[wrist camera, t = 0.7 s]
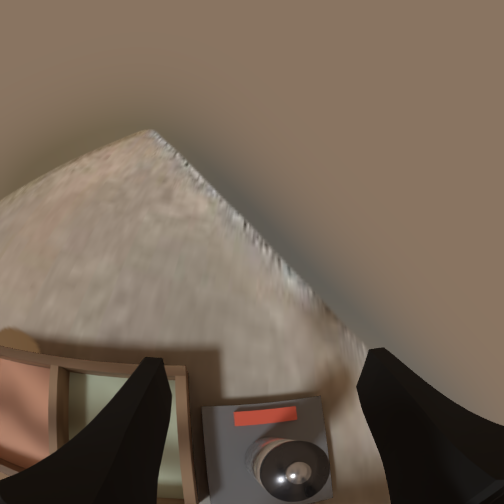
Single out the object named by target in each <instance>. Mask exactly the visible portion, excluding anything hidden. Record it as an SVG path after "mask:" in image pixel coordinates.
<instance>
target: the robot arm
mask: <svg viewBox="0 0 504 504" xmlns="http://www.w3.org/2000/svg"><path fill="white" fill-rule="evenodd" d="M356 388H357V392H358V396H359V400H360V404H361V407H362V411H363V413H364V416H365V418H366V421H367V423H368V426H369V428H370V431H371V433H372V436H373V438H374V441H375V443H376V446H377V448H378V451H379V453H380V456H381V459H382V462H383V466H384V470H385V474H386V479H387V483H388V488H389V494H390V500H391V504H504V426H502V425H499V424H496V423H493V422H491V421H489V420H487V419H484V418H482V417H480V416H478V415H476V414H474V413H472V412H470V411H468V410H466V409H465V408H463V407H461V406H460V405H458V404H456V403H454V402H453V401H452V400H450V399H449V398H447V397H446V396H444V395H443V394H441V393H440V392H439V391H437V390H436V389H434V388H433V387H432V386H431V385H429V384H428V383H427V382H425V381H424V380H423V379H422V378H420V377H419V376H418V375H417V374H415V373H414V372H413V371H412V370H411V369H409V368H408V367H407V366H406V365H405V364H403V363H402V362H401V361H400V360H399V359H397V358H396V357H395V356H394V355H393V354H391V353H390V352H389V351H388V350H386V349H385V348H376V349H369V351H368V355H367V358H366V361H365V364H364V367H363V369H362V372H361V375H360V378H359V381H358V383H357V386H356ZM171 406H172V392H171V389H170V385H169V382H168V378H167V374H166V371H165V367H164V363H163V359H162V358H152V357H145V358H144V359H143V360H142V362H141V363H140V364H139V365H138V367H137V368H136V369H135V371H134V372H133V373H132V375H131V376H130V377H129V378H128V380H127V381H126V382H125V383H124V385H123V386H122V387H121V388H120V389H119V391H118V392H117V393H116V394H115V395H114V397H113V398H112V399H111V400H110V401H109V403H108V404H107V405H106V406H105V407H104V408H103V409H102V410H101V411H100V412H99V413H98V414H97V415H96V417H95V418H94V419H93V420H92V421H91V422H90V423H89V424H88V425H87V426H86V427H84V428H83V429H82V430H81V431H80V432H79V433H78V434H77V435H76V436H74V437H73V438H72V439H71V440H69V441H68V442H67V443H66V444H64V445H63V446H62V447H61V448H59V449H58V450H56V451H55V452H54V453H52V454H51V455H49V456H48V457H46V458H44V459H43V460H41V461H39V462H38V463H36V464H34V465H33V466H31V467H29V468H27V469H25V470H23V471H21V472H19V473H16V474H14V475H12V476H10V477H7V478H5V479H2V480H0V504H157V488H158V477H159V470H160V465H161V461H162V456H163V451H164V446H165V442H166V437H167V432H168V428H169V423H170V416H171Z"/></svg>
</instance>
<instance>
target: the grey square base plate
mask: <svg viewBox="0 0 504 504" xmlns="http://www.w3.org/2000/svg"><path fill="white" fill-rule="evenodd" d="M202 420H203V433H204V445H205V456H206V466H207V475H208V484H209V493H210V501H211V504H310V503H314V502H318V501H322V500H326V499H330V498H333V493H332V483H331V474H329V477H328V480H327V482H326V484H325V485H324V487H323V488H322V489H321V490H320V491H319V492H318V493H317V494H315V495H314V496H312V497H310V498H308V499H306V500H303V501H298V502H286V501H282V500H279V499H277V498H275V497H273V496H272V495H271V494H270V493H268V492H267V491H266V490H265V489H264V488H263V486H262V485H261V484H260V483H259V482H258V481H257V480H256V479H255V478H254V477H253V476H252V475H251V474H250V473H249V472H248V470H247V468H246V466H245V460H244V459H245V454H246V451H247V449H248V448H249V446H250V445H251V444H252V443H254V442H255V441H257V440H259V439H261V438H265V437H276V438H283V439H291V440H299V441H307V442H311V443H313V444H315V445H317V446H319V447H320V448H321V449H322V450H323V451H324V452H325V453H326V455H327V457H328V459H329V456H328V448H327V440H326V432H325V425H324V417H323V410H322V403H321V396H315V397H309V398H302V399H295V400H287V401H279V402H270V403H259V404H247V405H231V406H202Z"/></svg>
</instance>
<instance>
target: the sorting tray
mask: <svg viewBox="0 0 504 504" xmlns="http://www.w3.org/2000/svg"><path fill="white" fill-rule="evenodd" d="M138 365H139V364H126V363H112V362H101V361H91V360H82V359H73V358H66V357H59V356H52V355H45V354H39V353H34V352H28V351H23V350H17V349H13V348H8V347H3V346H0V472H2V473H4V474H6V475H8V476H12V475H14V474H16V473H19V472H21V471H23V470H25V469H27V468H29V467H31V466H33V465H34V464H36V463H38V462H39V461H41V460H43V459H44V458H46V457H48V456H49V455H51V454H52V453H54V452H55V451H56V450H58V449H59V448H61V447H62V446H63V445H64V444H66V443H67V442H68V441H69V440H71V439H72V438H73V437H74V436H76V435H77V434H78V433H79V432H80V431H81V430H82V429H83V428H84V427H86V426H87V425H88V424H89V423H90V422H91V421H92V420H93V419H94V418H95V417H96V415H97V414H98V413H99V412H100V411H101V410H102V409H103V408H104V407H105V406H106V405H107V404H108V403H109V401H110V400H111V399H112V398H113V397H114V395H115V394H116V393H117V392H118V391H119V389H120V388H121V387H122V386H123V385H124V383H125V382H126V381H127V380H128V378H129V377H130V376H131V375H132V373H133V372H134V371H135V369H136V368H137V367H138ZM164 367H165V371H166V374H167V378H168V382H169V385H170V389H171V392H172V406H171V416H170V423H169V428H168V432H167V437H166V442H165V446H164V451H163V456H162V461H161V465H160V470H159V477H158V488H157V504H199V502H198V494H197V485H196V476H195V467H194V456H193V445H192V433H191V418H190V401H189V380H188V371H187V369H186V366H178V365H164Z"/></svg>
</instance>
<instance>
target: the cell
mask: <svg viewBox="0 0 504 504" xmlns="http://www.w3.org/2000/svg"><path fill="white" fill-rule="evenodd" d="M244 460H245V466H246V468H247V470H248V472H249V473H250V474H251V475H252V476H253V477H254V478H255V479H256V480H257V481H258V482H259V483H260V484H261V485H262V486H263V488H264V489H265V490H266V491H267V492H268V493H270V494H271V495H272V496H273V497H275V498H277V499H279V500H282V501H286V502H298V501H303V500H306V499H308V498H310V497H312V496H314V495H315V494H317V493H318V492H319V491H320V490H321V489H322V488H323V487H324V485H325V484H326V482H327V480H328V477H329V474H330V463H329V459H328V457H327V455H326V453H325V452H324V451H323V450H322V449H321V448H320V447H319V446H317V445H315V444H313V443H311V442H307V441H299V440H291V439H283V438H276V437H265V438H261V439H259V440H257V441H255V442H254V443H252V444H251V445H250V446H249V448H248V449H247V451H246V454H245V459H244Z"/></svg>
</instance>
